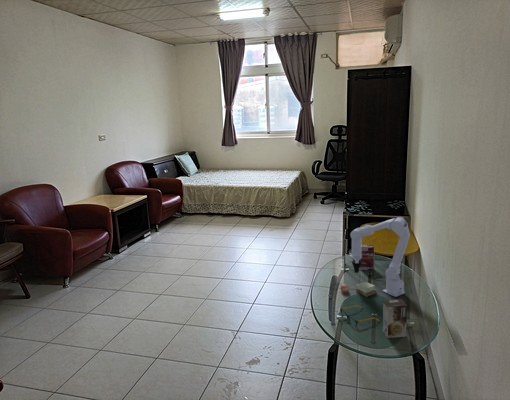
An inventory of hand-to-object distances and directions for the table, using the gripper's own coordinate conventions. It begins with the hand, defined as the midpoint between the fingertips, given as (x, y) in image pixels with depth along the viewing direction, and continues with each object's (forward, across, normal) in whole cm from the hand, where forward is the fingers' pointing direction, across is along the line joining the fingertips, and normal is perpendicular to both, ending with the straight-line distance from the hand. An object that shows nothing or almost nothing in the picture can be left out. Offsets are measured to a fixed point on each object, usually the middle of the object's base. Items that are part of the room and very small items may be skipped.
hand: (356, 269), depth 230 cm
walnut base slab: (+10, +10, +5) cm, 15 cm away
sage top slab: (+8, +10, +5) cm, 13 cm away
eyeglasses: (+10, +39, +1) cm, 40 cm away
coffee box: (+10, +51, +16) cm, 55 cm away
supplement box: (+10, -25, +7) cm, 28 cm away
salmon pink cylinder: (+10, +11, -7) cm, 16 cm away
